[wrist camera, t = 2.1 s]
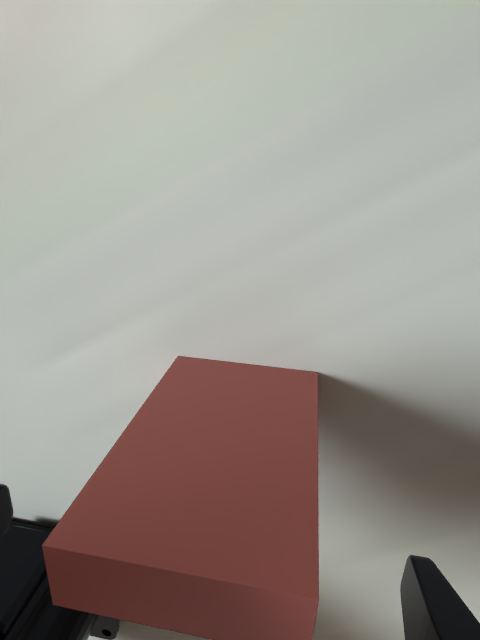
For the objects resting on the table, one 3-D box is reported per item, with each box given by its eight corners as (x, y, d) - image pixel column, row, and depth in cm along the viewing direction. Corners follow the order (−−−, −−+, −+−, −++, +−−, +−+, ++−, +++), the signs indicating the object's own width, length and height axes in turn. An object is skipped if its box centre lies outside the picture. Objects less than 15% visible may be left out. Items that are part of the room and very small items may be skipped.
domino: (312, 411, 15) (309, 660, 7) (178, 394, 15) (53, 604, 8) (317, 372, 14) (318, 599, 7) (177, 356, 15) (42, 545, 8)
